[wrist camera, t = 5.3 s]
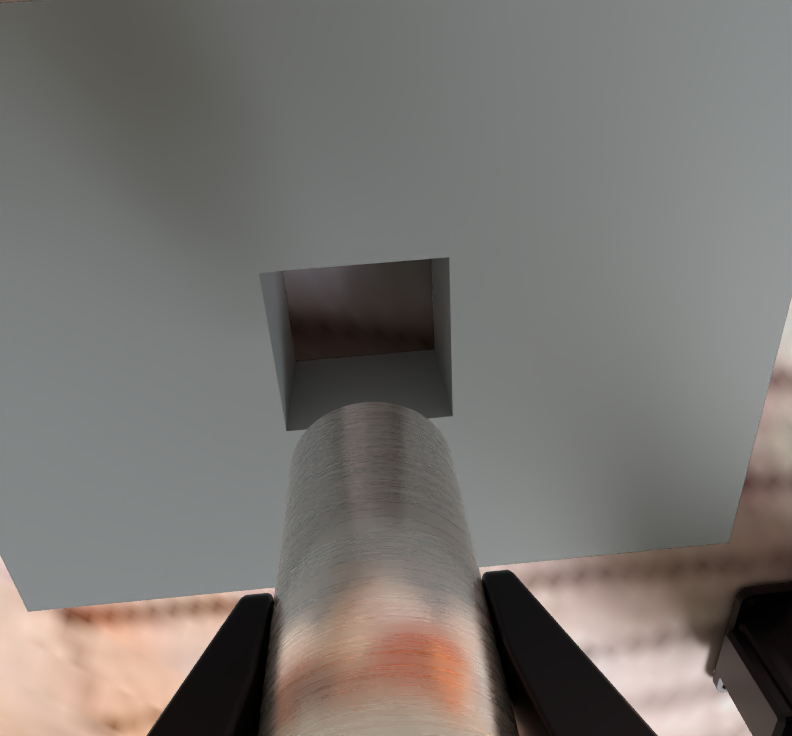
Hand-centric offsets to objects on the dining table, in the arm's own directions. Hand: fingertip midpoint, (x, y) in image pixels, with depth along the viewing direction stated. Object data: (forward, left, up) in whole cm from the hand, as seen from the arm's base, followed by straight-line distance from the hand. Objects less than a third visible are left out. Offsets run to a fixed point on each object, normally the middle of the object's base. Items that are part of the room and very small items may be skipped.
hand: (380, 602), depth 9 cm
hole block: (0, 0, -12) cm, 12 cm away
